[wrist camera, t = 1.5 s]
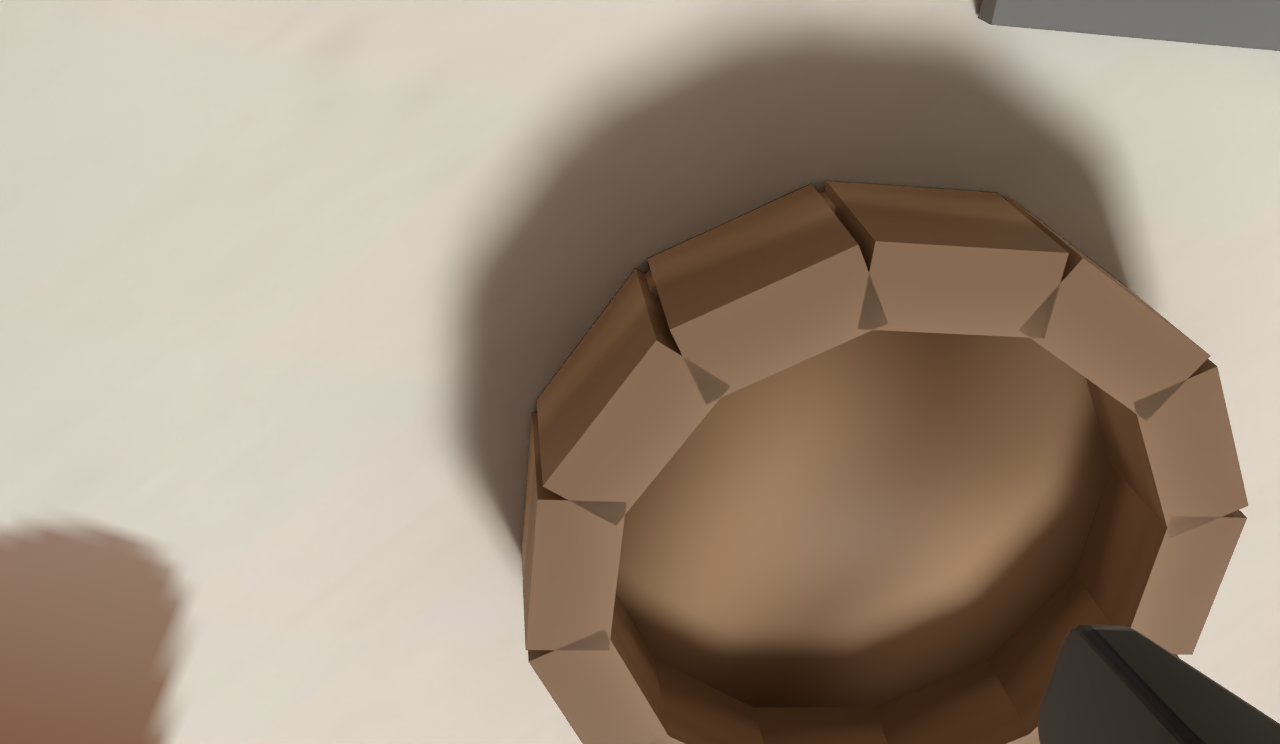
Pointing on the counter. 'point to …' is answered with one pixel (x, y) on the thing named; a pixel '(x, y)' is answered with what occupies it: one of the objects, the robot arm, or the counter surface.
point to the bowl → (866, 479)
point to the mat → (1148, 19)
